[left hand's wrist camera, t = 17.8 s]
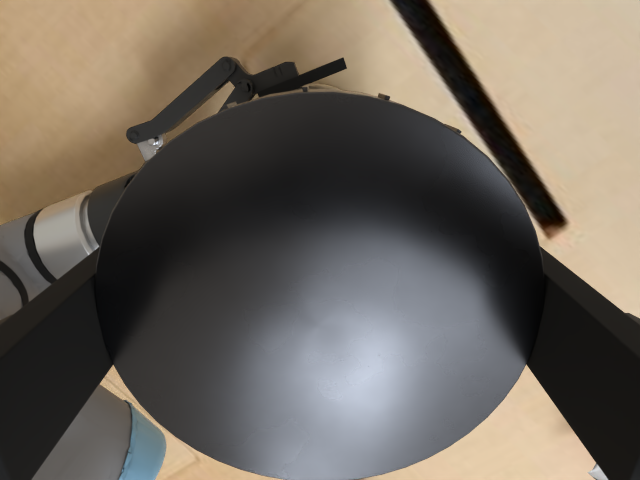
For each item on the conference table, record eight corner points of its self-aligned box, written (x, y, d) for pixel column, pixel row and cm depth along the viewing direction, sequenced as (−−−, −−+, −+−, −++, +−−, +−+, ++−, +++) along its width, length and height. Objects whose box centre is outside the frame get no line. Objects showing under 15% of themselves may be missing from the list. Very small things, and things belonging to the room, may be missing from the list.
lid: (196, 462, 15) (182, 507, 13) (52, 143, 10) (7, 155, 9) (523, 409, 14) (548, 451, 12) (507, 38, 10) (543, 31, 8)
